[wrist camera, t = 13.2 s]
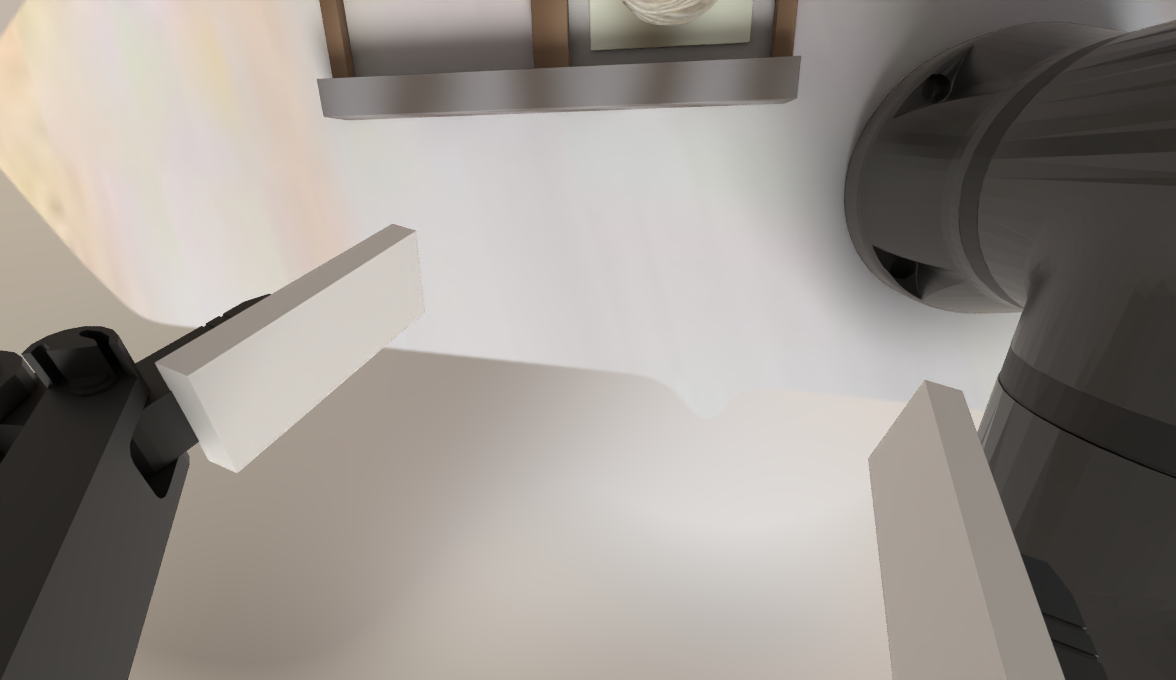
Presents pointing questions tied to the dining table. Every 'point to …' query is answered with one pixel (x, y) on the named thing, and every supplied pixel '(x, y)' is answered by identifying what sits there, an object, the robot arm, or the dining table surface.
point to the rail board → (577, 68)
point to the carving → (668, 10)
